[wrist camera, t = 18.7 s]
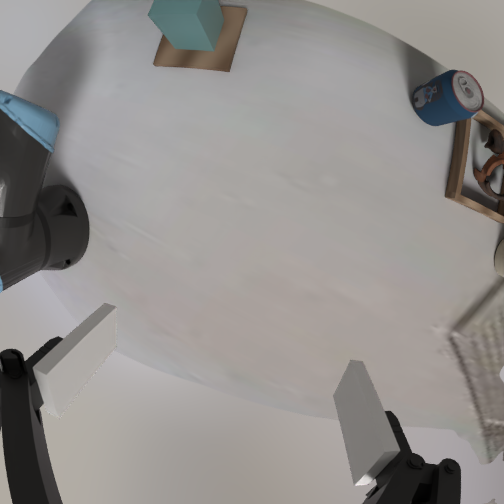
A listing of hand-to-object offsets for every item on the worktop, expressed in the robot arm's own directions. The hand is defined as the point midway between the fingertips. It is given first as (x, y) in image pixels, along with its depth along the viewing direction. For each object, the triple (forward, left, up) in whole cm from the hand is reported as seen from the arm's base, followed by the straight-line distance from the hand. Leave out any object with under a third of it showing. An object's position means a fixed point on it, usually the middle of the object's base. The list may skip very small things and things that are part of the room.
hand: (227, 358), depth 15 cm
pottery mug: (+37, +24, -29) cm, 53 cm away
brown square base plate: (-15, +30, -29) cm, 44 cm away
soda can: (+22, +28, -29) cm, 46 cm away
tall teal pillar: (-15, +30, -28) cm, 43 cm away
